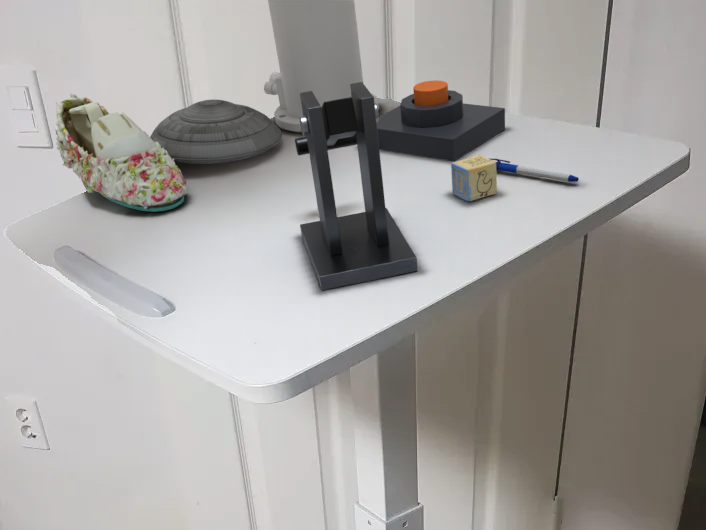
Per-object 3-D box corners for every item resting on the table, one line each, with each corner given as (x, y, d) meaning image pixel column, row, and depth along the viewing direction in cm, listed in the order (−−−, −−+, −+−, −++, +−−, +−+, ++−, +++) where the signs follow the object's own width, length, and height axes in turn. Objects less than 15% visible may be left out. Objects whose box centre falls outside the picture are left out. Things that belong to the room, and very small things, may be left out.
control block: (362, 147, 92) (358, 108, 89) (415, 117, 98) (413, 80, 95) (454, 161, 86) (452, 120, 83) (505, 129, 91) (504, 89, 89)
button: (407, 106, 89) (406, 89, 88) (427, 96, 91) (426, 79, 90) (435, 110, 87) (434, 92, 86) (455, 99, 89) (454, 81, 88)
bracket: (302, 237, 76) (275, 85, 68) (387, 220, 77) (371, 67, 68) (321, 290, 68) (294, 125, 59) (417, 271, 69) (404, 105, 60)
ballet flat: (130, 229, 82) (104, 146, 77) (36, 173, 97) (9, 101, 92) (212, 198, 86) (193, 117, 81) (109, 148, 101) (88, 78, 96)
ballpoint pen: (479, 169, 83) (479, 158, 82) (484, 166, 84) (484, 155, 83) (576, 184, 78) (576, 173, 77) (580, 181, 78) (581, 170, 78)
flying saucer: (145, 141, 100) (135, 90, 96) (270, 127, 103) (265, 78, 99) (156, 181, 88) (146, 125, 85) (296, 164, 92) (291, 110, 88)
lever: (298, 162, 76) (293, 134, 76) (357, 151, 77) (352, 123, 76) (308, 139, 64) (302, 105, 63) (379, 126, 64) (373, 92, 64)
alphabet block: (451, 194, 80) (450, 161, 78) (479, 185, 81) (478, 152, 79) (468, 203, 78) (467, 170, 76) (497, 194, 78) (497, 161, 76)
